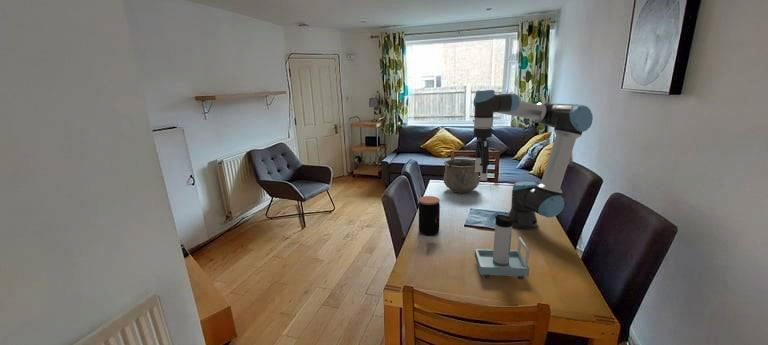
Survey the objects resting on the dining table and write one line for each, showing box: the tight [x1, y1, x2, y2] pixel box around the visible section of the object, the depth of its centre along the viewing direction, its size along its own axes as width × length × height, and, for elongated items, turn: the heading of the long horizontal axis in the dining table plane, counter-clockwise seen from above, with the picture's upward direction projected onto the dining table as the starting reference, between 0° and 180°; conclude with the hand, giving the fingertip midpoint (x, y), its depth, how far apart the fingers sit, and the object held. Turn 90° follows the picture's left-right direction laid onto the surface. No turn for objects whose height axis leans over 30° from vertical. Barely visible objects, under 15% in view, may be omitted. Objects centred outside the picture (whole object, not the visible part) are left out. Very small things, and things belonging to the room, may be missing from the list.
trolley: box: [474, 236, 531, 281], centre depth 128 cm, size 18×14×12 cm
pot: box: [443, 158, 481, 193], centre depth 224 cm, size 25×24×21 cm
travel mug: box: [493, 214, 513, 266], centre depth 126 cm, size 6×7×20 cm
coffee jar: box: [418, 195, 441, 237], centre depth 163 cm, size 11×11×18 cm
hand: (480, 175), depth 139 cm, fingers open, 13 cm apart
